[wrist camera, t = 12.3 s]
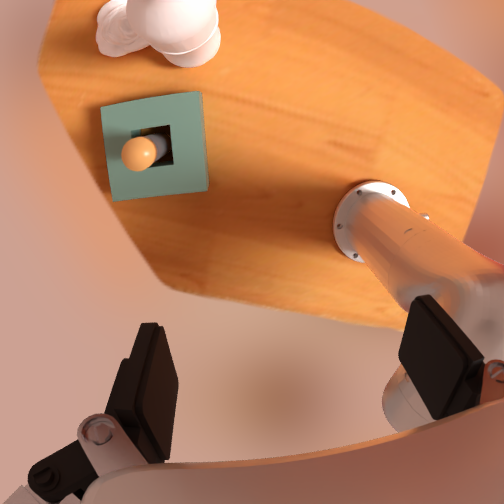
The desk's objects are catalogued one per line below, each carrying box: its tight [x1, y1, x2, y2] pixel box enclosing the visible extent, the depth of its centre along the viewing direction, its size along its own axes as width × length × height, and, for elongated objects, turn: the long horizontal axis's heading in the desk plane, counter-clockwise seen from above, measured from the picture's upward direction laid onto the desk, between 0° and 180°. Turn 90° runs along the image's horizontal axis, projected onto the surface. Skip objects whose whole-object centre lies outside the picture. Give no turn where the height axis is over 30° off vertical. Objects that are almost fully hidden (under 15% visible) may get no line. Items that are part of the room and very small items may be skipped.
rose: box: [96, 0, 150, 57], centre depth 30 cm, size 10×4×10 cm
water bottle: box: [126, 0, 220, 68], centre depth 23 cm, size 7×7×25 cm
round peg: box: [121, 132, 172, 171], centre depth 34 cm, size 3×3×11 cm
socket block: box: [100, 91, 209, 202], centre depth 37 cm, size 12×12×4 cm
